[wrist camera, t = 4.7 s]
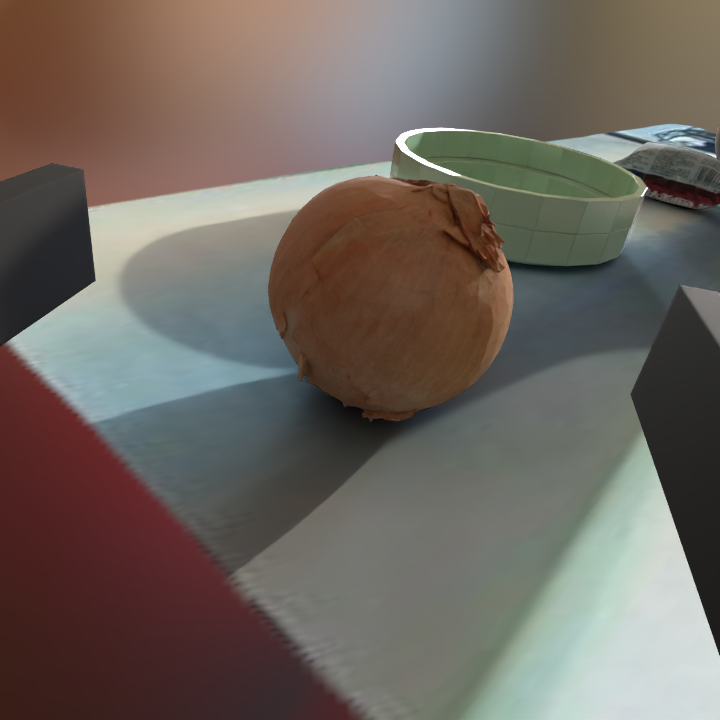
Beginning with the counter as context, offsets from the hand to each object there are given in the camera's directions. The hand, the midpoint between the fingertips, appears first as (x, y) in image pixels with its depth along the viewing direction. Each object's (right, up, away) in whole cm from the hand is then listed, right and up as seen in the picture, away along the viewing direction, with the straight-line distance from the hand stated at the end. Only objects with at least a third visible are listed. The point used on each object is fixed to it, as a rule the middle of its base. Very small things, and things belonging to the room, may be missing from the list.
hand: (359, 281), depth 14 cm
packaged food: (+31, +14, +48) cm, 59 cm away
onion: (+1, -3, +13) cm, 13 cm away
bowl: (+11, +9, +34) cm, 37 cm away
